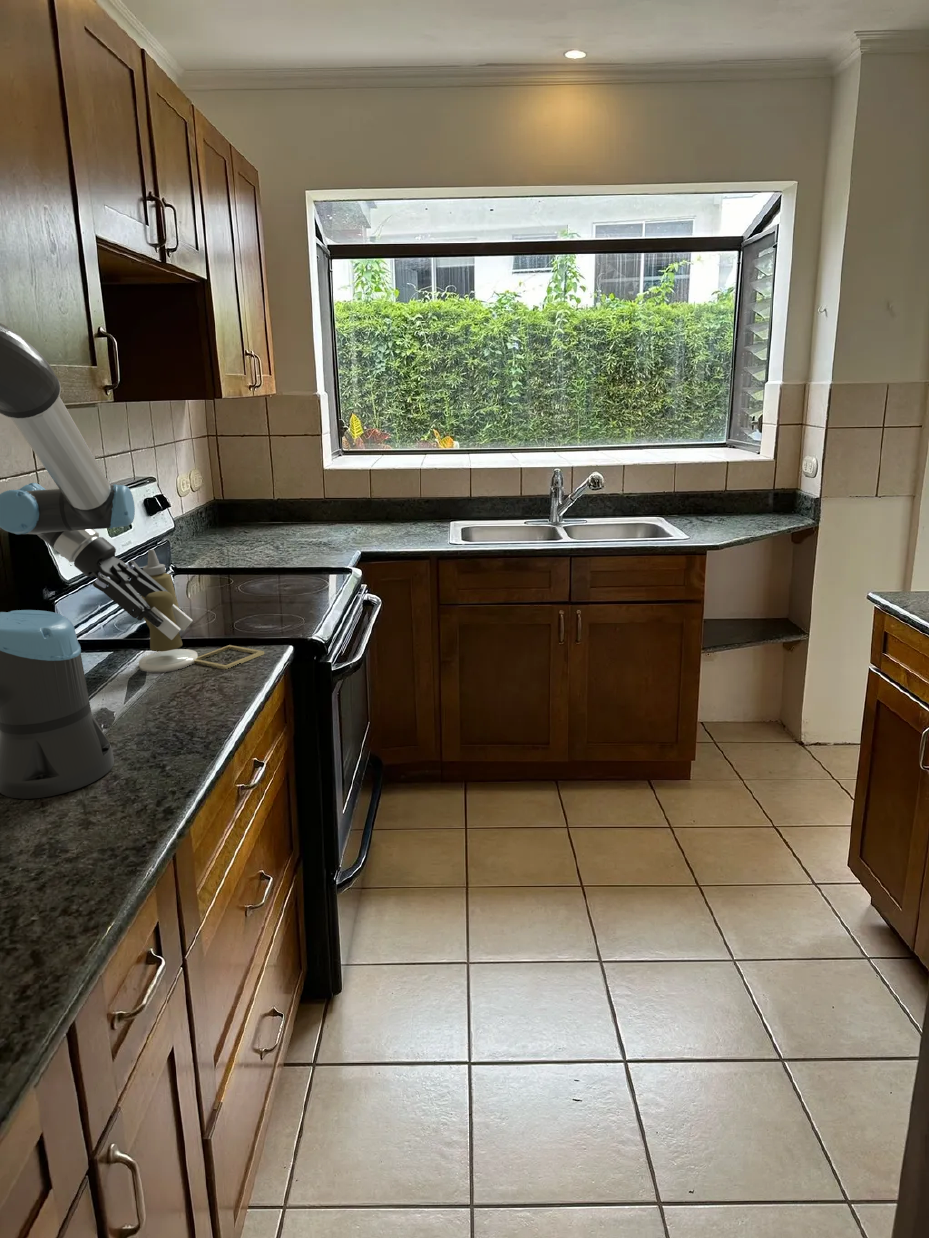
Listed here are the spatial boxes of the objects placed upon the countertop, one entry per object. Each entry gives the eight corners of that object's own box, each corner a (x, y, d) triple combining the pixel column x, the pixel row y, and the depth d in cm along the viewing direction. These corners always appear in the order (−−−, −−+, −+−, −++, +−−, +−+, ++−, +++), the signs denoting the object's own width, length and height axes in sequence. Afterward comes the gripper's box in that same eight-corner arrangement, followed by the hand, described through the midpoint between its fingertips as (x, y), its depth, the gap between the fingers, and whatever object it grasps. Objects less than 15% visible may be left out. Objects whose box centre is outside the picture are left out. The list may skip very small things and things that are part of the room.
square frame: (225, 669, 158) (225, 666, 158) (190, 662, 164) (190, 659, 164) (264, 654, 166) (264, 651, 166) (229, 647, 172) (229, 644, 172)
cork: (181, 639, 167) (173, 586, 164) (183, 648, 162) (175, 593, 159) (149, 644, 165) (140, 591, 162) (150, 653, 160) (141, 598, 157)
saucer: (164, 675, 157) (163, 670, 157) (127, 667, 163) (126, 662, 162) (209, 658, 166) (209, 652, 165) (173, 651, 172) (172, 645, 171)
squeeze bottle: (158, 635, 183) (145, 555, 178) (137, 630, 188) (124, 552, 183) (189, 625, 189) (177, 548, 184) (168, 621, 194) (156, 545, 189)
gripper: (99, 553, 169) (189, 629, 172) (49, 575, 151) (151, 658, 155) (120, 526, 167) (211, 604, 170) (72, 545, 149) (174, 630, 153)
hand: (182, 629), depth 162 cm, fingers closed on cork, 5 cm apart
